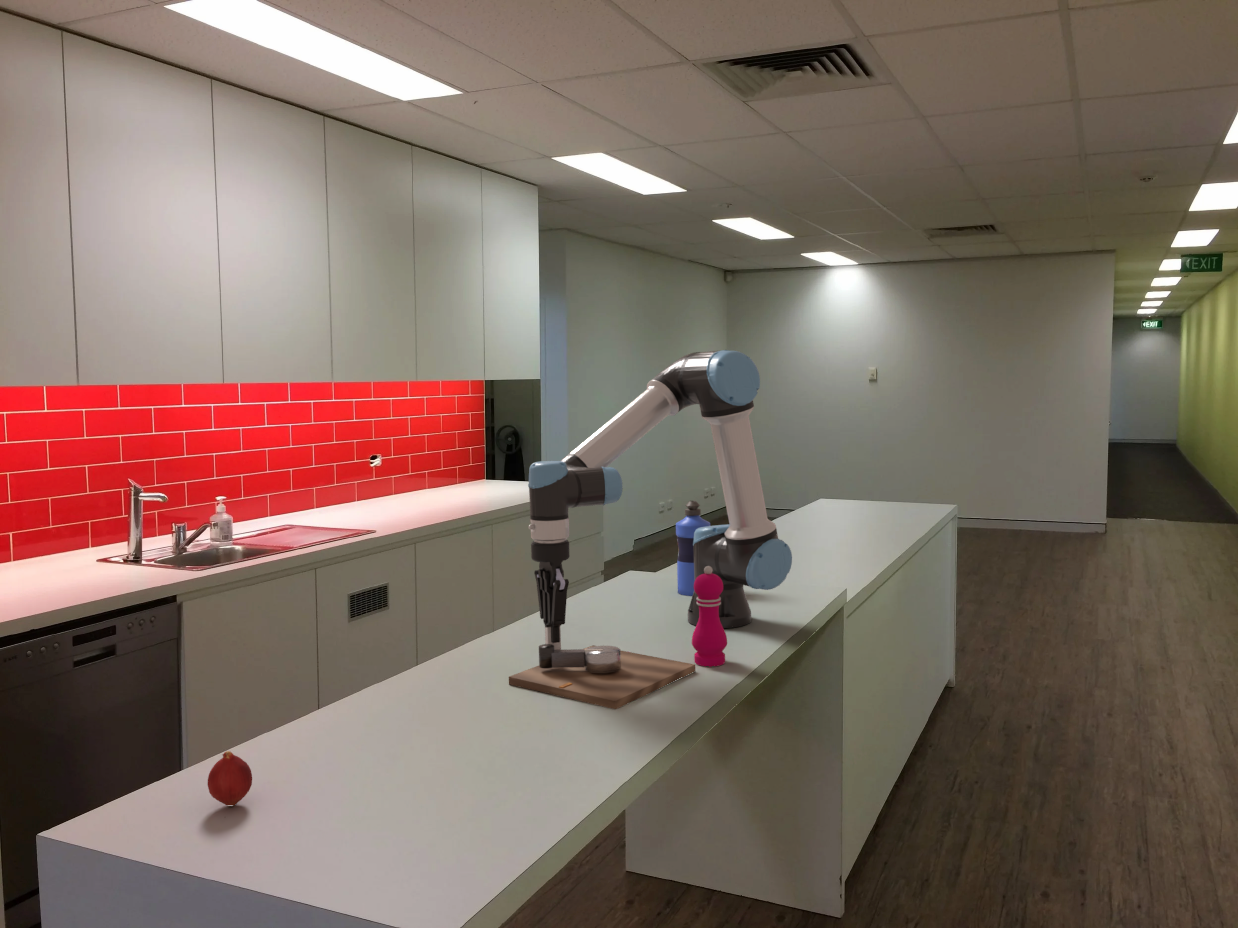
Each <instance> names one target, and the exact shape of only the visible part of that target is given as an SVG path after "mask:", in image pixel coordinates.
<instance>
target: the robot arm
mask: <svg viewBox="0 0 1238 928" xmlns="http://www.w3.org/2000/svg"><path fill="white" fill-rule="evenodd" d="M758 369H759V368H758V366H757V365H756V363H755V362H754V361H753V359H752V358H751V357H750V356H748V355H747V354H746V353H744V352H741V351H739V350H731V349H729V350H728V349H722V350H721V349H720V350H711V351H709V350H708V351H697V352H690V353H688V354H685V355H683V356H681V357H679V358H678V359H676V360H674V362H672V363H670V364H669V365H668V366H666V367H665V368H664V369H663V370H661V371H660V372H659V373H657V374H656V375H655V376H654V377H653V378H652V379H650V380H649V381H648V383H647V384H646V390H644V391H643V392H642V393H640V395H638V396H636V398H635V399H633V400H632V401H631V402H630V403H628V404H627V405H626V406H625V407H624V408H623V409H621V410H620V411H618V413H617V414H615V415H614V416H613V417H611V419H609V420H608V421H607V422H606V423H605V424H603V425H602V426H601V427H600V428H598V429H597V430H596V431H594V433H592V434H591V435H590V436H589V437H588V438H586V439H585V440H584V441H582V442H581V443H580V444H578V446H576V447H575V448H574V449H573V450H572V451H571V452H569V453H568V454H566V456H564V457H563V458H562V459H561V460H545V461H544V460H540V461H535V462H533V463H531V464H530V466H529V471H528V472H529V473H528V485H527V486H528V494H529V514H530V517H529V518H530V524H529V525H528V527H527V529H528V530H530V538H531V539H532V541H531V543H530V552H531V553H530V556H531V560H532V561H534V562H537V563H539V564H538V567H539V569H537V570H534V577H535V582H536V590H537V591H536V592H537V599H538V607H539V608H538V609H539V618H540V619H541V620H542V621H543V624H544V636H545V637H544V640H545V644H552V645H554V650H562V637H561V636H562V635H561V634H562V633H561V632H562V631H561V626H562V625H565V624H566V613H567V598H568V588H569V583H570V582H569V579H568V578H565V579H564V577H565V572H564V569H563V564H562V563H563V562H564V561H566V560H567V561H568V559H570V541H569V540H568V538H570V519H569V509H573V508H579V507H591V506H606V505H610V504H615V503H617V502H618V501H619V500H620V498H621V496H622V495H623V494H622V493H623V480H622V476H621V474H620V472H619V471H618V469H616V468H615V467H612V466H610V465H611V464H612V463H613V462H614V461H616V460H617V459H618V458H619V457H620V456H622V455H623V454H624V453H625V452H626V451H627V450H629V449H630V448H631V447H632V446H634V444H636V443H637V442H638V441H640V439H642V438H643V437H644V436H646V435H647V434H648V433H649V432H650V431H651V430H652V429H654V427H656V426H658V425H659V423H660V422H662V421H663V420H665V419H666V417H668V416H675V415H677V414H678V413H680V411H682V410H684V409H685V408H688V407H690V406H693V405H699V410H700V414H701V418H702V419H703V420H705V421H706V422H707V423H709V424H710V430H711V435H712V440H713V445H714V452H715V456H716V462H717V466H718V471H719V477H720V481H721V482H720V483H721V487H722V491H723V497H724V498H723V499H724V504H725V507H726V514H727V518H728V523H729V524H728V523H727V524H718V525H710V526H706V527H700V528H698V529H696V530H695V532H694V541H693V547H694V582H695V579H696V578H697V577H698V576H699V575H701V574H705V573H704V568H705V567H706V566H710V567H712V570H713V571H712V574H716V575H718V576H719V577H720V578H721V580H722V582H723V591H722V593H721V594H720V595H719V597H721V600H720V602H721V604H720V605H719V619H720V622H721V624H722V627H723V629H730V628H737V627H738V628H739V627H743V626H747V625H748V624H750V623H751V622H752V610H751V607H750V605H749V602H748V597H747V596H746V592H745V589H744V586H747V587H749V588H751V589H754V590H765V591H766V590H767V591H770V590H774V589H775V588H777V587H779V586H780V585H781V584H782V583H783V582H784V581H785V580H786V579H787V576H788V574H790V571H791V569H792V565H793V554H792V550H791V548H790V546H789V545H788V544H787V543H786V542H785V541H784V540H783V539H780V538H779V535H778V529H777V525H776V523H774V522H773V521H772V520H770V519H768V514H767V507H766V503H765V497H764V492H763V487H762V481H761V475H760V471H759V464H758V459H757V454H756V449H755V443H754V442H755V441H754V438H753V437H754V436H753V433H752V427H751V421H750V414H751V413H752V412H753V410H754V409H755V405H754V404H755V403H754V399H755V398H756V397H757V395H758V390H759V389H760V387H761V377H760V376H761V375H760V372H759V370H758ZM697 597H698V595H697V594H696V593H695V591H694V593H693V596H691V599H690V603H689V605H688V606H689V607H688V609H687V622H688V624H689V623H690V624H691V625H694V626H696V625H697V623H698V620H699V605H697V599H696V598H697Z"/></svg>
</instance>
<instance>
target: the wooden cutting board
mask: <svg viewBox="0 0 1238 928" xmlns="http://www.w3.org/2000/svg"><path fill="white" fill-rule="evenodd" d="M594 646H595V645H589V646H588V647H585V648H583V649H587V648H590V647H594ZM620 652H621V669H620V670H618V671H616V672H612V673H591V672H588V671H586V670H585V667H566V668H547V669H545V668H540V667H539V665H536V666H534V667H531V668H528V669H525V670H522V671H520V672H517V673H515V674H512V675H510V676H508V685H511V686H516V687H517V688H518V687H519V688H523V689H528V690H532V691H537V692H540V693H545V694H548V695H552V696H556V697H561V698H566V699H571V700H575V701H577V702H578V701H579V702H582V703H588V704H591V705H595V706H599V707H604V708H608V709H612V710H618V709H620V708H621V707H623V706H626V705H627V704H628V705H629V704H630V703H632V702H634V701H637V700H638V699H639V700H640V698H643V697H645V696H647V695H649V694H651V693H653V691H654V692H655V690H656V691H658V690H660V689H662V688H664V687H666V686H668V685H667V684H669V683H671V682H673V681H675V680H677V679H679V678H681V677H683V678H685V677H684V676H686V675H688V674H690V673H692V672H694V671H695V672H696V664H695V663H691V662H690V663H689V662H683V661H678V660H673V659H667V658H663V657H656V656H653V655H646V654H642V653H635V652H632V651H631V652H629V651H625V650H621V649H620ZM695 672H694V673H695ZM692 674H693V673H692ZM690 675H691V674H690ZM688 676H689V675H688ZM686 677H687V676H686ZM681 679H682V678H681ZM679 680H680V679H679ZM677 681H678V680H677ZM675 682H676V681H675ZM673 683H674V682H673ZM671 684H672V683H671ZM665 685H666V686H665ZM669 685H670V684H669ZM663 686H664V687H663ZM661 687H662V688H661ZM659 688H660V689H659ZM657 689H658V690H657Z"/></svg>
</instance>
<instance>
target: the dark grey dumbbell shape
mask: <svg viewBox="0 0 1238 928" xmlns="http://www.w3.org/2000/svg"><path fill="white" fill-rule="evenodd" d="M589 647H590V646H589ZM586 648H587V647H586ZM620 650H621V648H620V647H618V646H613V645H594V647H590V648H587V649H584V648H581V649H580V648H579V649H577V648H576V649H561V650H554V645H552V644H540V645H539V646H538V666H539V667H540V668H545V669H547V668H566V667H585V670H586V671H588V672H591V673H612V672H616V671H618V670H620V669H621V652H620Z"/></svg>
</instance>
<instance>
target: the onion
mask: <svg viewBox="0 0 1238 928" xmlns="http://www.w3.org/2000/svg"><path fill="white" fill-rule="evenodd" d="M221 755H222V758H220V759H218V760H217V761H216V763H214V765H213V766H212V767H211V770H210V771H209V774H208V777H207V789H208V793H209V794H210V795H211V797H212V798H213V799H215V800H216V801H218V802H219V803H222V804H224V805H225V806H226V805H234V806H236V805H237V804H238V803H239V802H240V801H241V800H243V799H244V798H245V797H246V795H247V794H248V793H249V792H250V790H251V787H252V785H253V774H252V769H251V768H250V766H249V764H248V763H247V762H246V761H245V760H244V759H242V758H241V757H240V756H238V755H235V754H234V753H233V752H231V751H230V750H227V751H225V752H224V753H223V754H221ZM235 804H236V805H235Z"/></svg>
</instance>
